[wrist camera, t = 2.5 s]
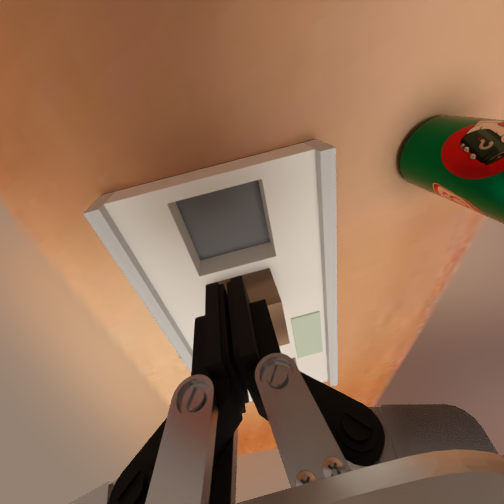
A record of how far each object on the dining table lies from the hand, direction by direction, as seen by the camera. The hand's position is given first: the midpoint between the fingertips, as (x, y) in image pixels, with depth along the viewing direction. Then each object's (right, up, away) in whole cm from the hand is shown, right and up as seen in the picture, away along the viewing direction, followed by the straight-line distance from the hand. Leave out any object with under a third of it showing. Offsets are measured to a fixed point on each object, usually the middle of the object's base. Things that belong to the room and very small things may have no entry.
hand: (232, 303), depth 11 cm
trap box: (+1, -3, +15) cm, 15 cm away
